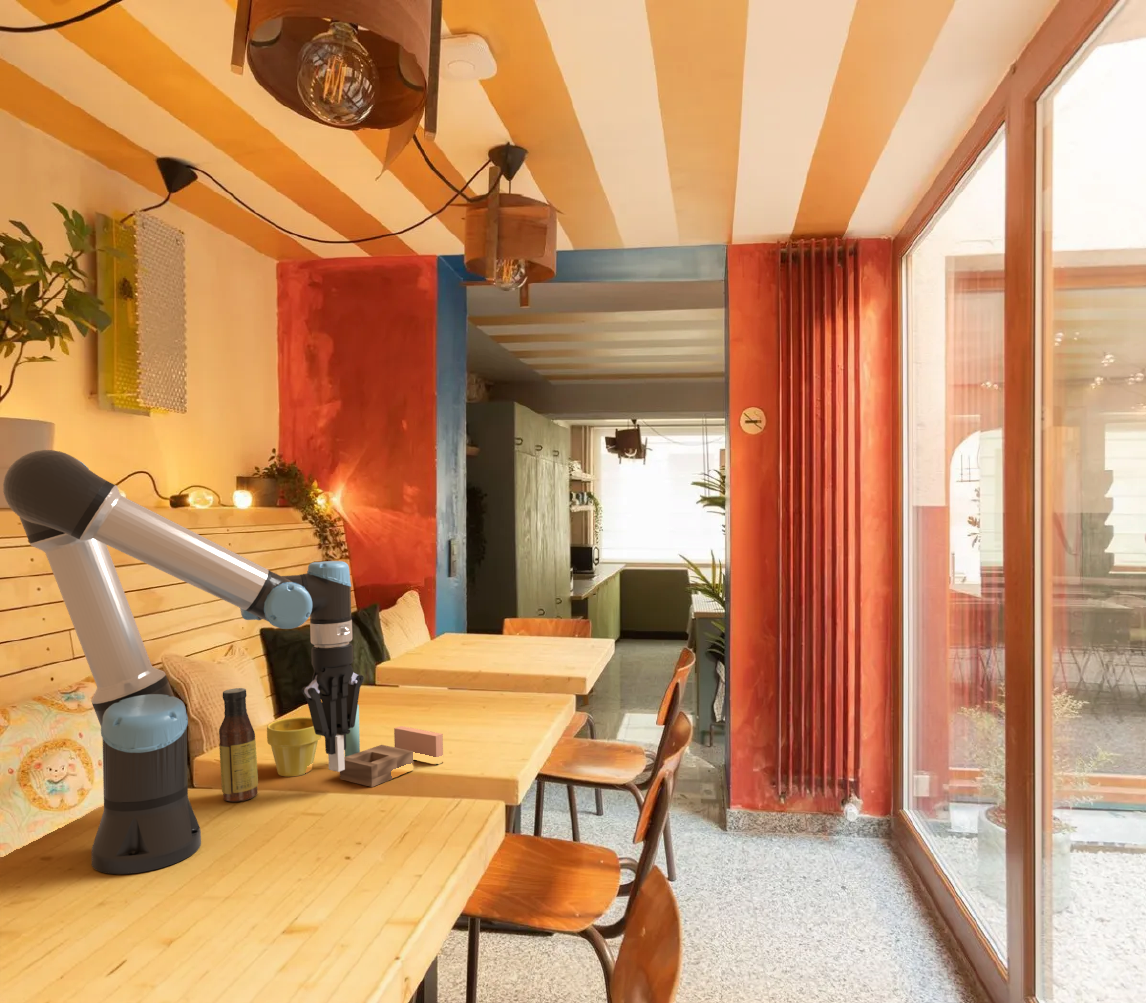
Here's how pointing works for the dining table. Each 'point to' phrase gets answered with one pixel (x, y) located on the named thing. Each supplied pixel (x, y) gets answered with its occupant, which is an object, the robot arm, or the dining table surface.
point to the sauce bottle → (237, 749)
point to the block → (374, 765)
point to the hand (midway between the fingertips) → (336, 769)
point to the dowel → (353, 738)
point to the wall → (419, 741)
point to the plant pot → (292, 744)
